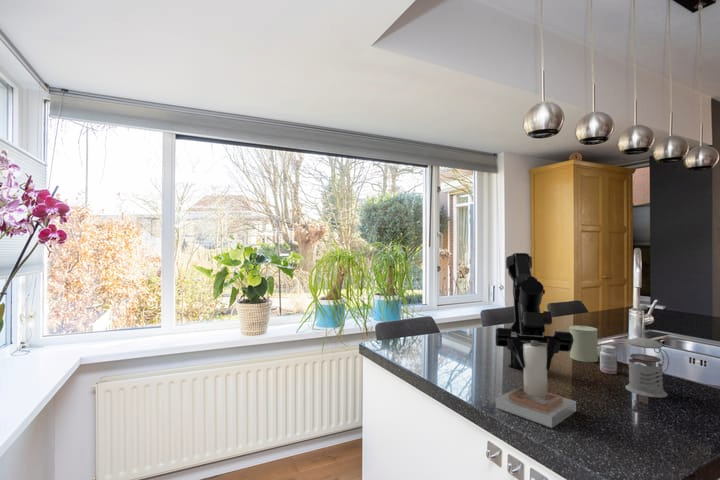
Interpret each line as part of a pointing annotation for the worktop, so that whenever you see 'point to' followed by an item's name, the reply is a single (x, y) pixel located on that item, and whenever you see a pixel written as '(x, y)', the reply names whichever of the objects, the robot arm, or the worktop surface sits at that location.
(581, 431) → the worktop surface
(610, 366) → the pill bottle
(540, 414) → the press bed
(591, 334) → the can
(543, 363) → the white bottle
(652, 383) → the french press
